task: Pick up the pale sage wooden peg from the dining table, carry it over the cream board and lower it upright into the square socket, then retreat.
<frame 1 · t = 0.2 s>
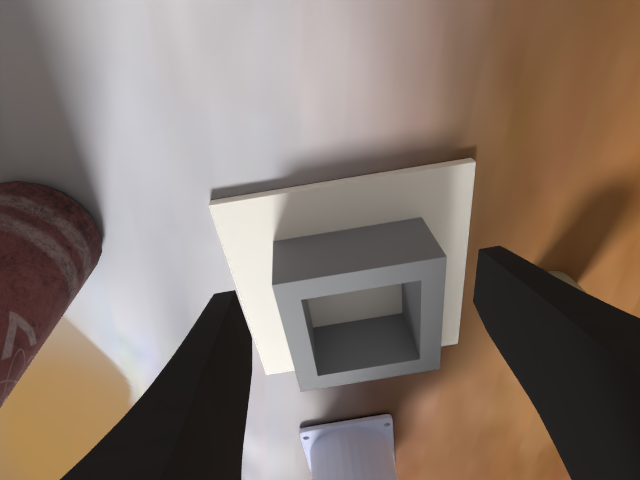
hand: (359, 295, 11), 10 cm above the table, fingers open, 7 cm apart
socket: (352, 279, 24), on the table
can: (44, 225, 20), on the table
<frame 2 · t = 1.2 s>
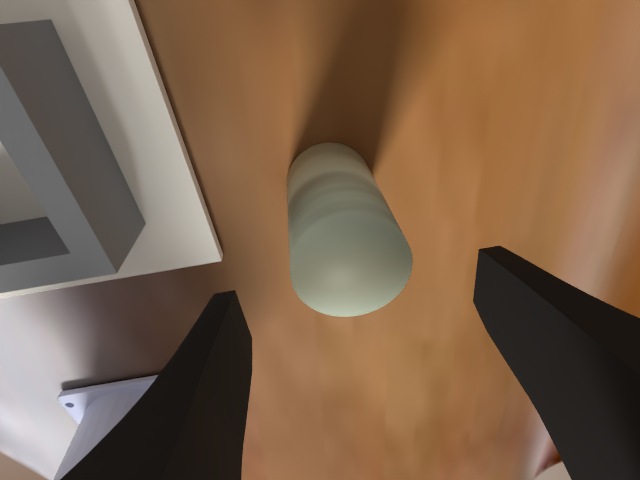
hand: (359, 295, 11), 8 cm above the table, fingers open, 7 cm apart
peg: (328, 182, 18), on the table
socket: (13, 149, 16), on the table
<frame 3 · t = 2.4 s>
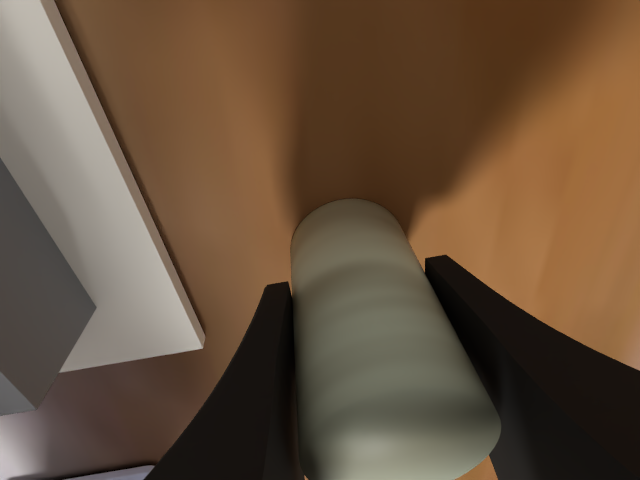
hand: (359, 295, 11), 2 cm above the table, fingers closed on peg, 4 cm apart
peg: (347, 249, 13), on the table, touching gripper
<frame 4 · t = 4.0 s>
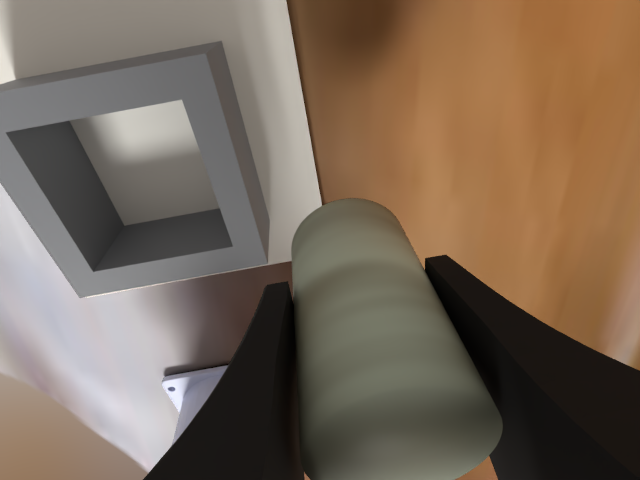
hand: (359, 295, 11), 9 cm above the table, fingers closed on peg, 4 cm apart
peg: (348, 249, 13), point 7 cm above the table, touching gripper
socket: (162, 154, 18), on the table
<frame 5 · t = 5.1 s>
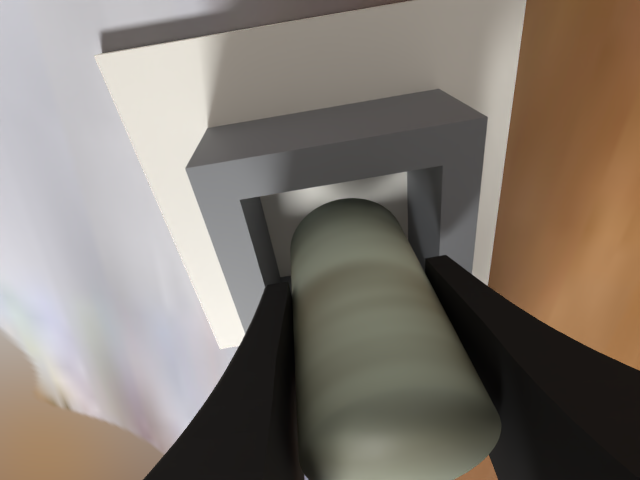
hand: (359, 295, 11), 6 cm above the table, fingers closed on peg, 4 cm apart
peg: (347, 249, 13), point 4 cm above the table, touching gripper
socket: (335, 203, 16), on the table
when the fingers open (5 cm above the table, at t = 5.7 s): peg drops 2 cm, resting on socket.
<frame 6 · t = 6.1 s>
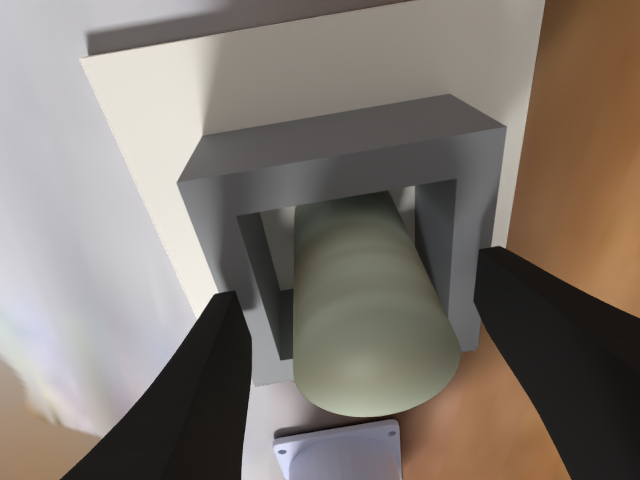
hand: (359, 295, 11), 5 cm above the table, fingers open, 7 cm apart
peg: (345, 220, 15), point 1 cm above the table, touching socket
socket: (338, 214, 15), on the table
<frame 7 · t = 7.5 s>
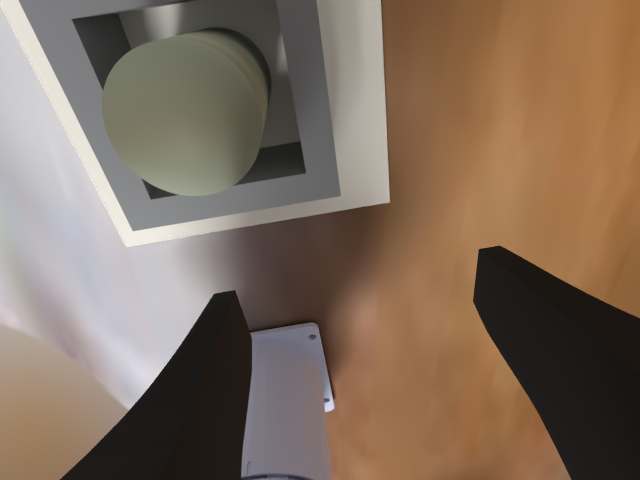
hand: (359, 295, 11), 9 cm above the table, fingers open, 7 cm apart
peg: (223, 81, 16), point 1 cm above the table, touching socket
socket: (221, 81, 16), on the table
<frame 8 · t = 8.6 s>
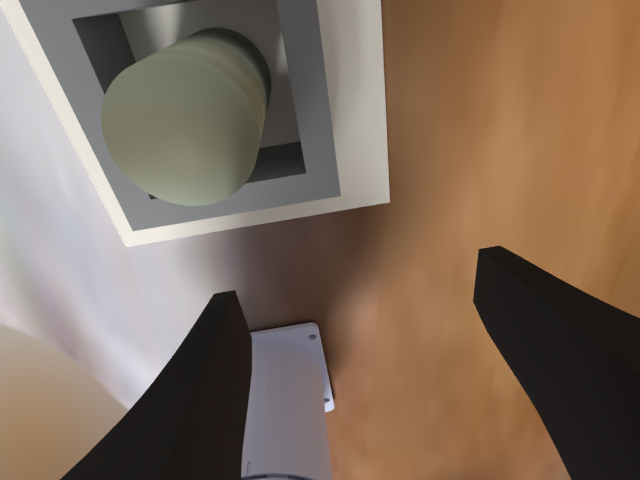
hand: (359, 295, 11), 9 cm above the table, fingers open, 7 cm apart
peg: (223, 82, 16), point 1 cm above the table, touching socket
socket: (221, 81, 16), on the table
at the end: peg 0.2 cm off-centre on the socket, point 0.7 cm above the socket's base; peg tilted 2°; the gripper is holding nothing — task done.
